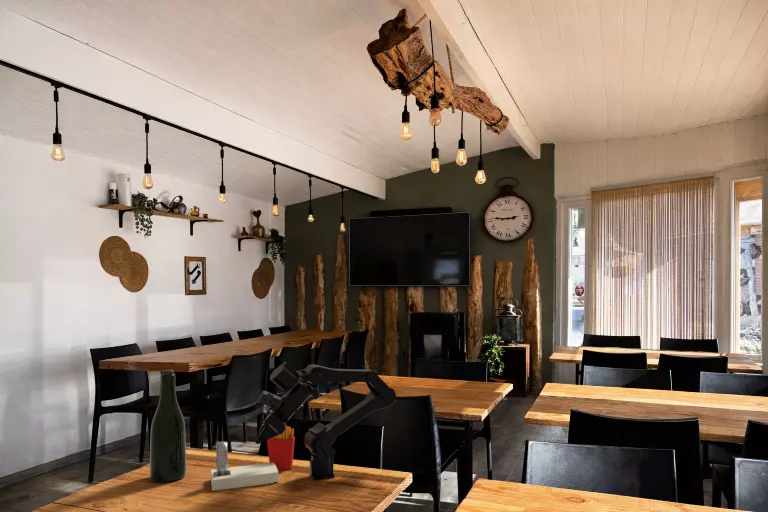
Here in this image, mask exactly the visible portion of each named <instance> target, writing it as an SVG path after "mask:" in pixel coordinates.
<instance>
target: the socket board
mask: <svg viewBox="0 0 768 512" xmlns="http://www.w3.org/2000/svg"><path fill="white" fill-rule="evenodd" d="M279 476H280V475H279V469H277V468H276V465H275V463H274V462H273V463H269V462H267V463H266V462H265V463H258V464H250V465H240V466H233V467H232V466H231V467H228V475H227V476H219V477H217V468H216V469H215V468H214V469H211V470H210V482H211V491H221V490H222V491H223V490H228V489H238V488H244V487H246V488H247V487H253V486H260V485H270V484H275V483H274V482H278V483H280V480H279V478H280V477H279ZM269 483H270V484H269Z"/></svg>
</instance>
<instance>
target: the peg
mask: <svg viewBox="0 0 768 512" xmlns="http://www.w3.org/2000/svg"><path fill="white" fill-rule="evenodd" d="M228 445H229V442H228V441H226V440H225V441H222V440H221V441H218V442H216V445H215V446H216V447H215V451H216V457H215V458H216V461H215V462H216V469H217V477H219V476H227V475H228V468H229V467H228V466H229V465H228V464H229V463H228V459H229V458H228V454H229V453H228V452H229V451H228V449H229V448H228V447H229V446H228Z"/></svg>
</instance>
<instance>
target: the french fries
mask: <svg viewBox="0 0 768 512" xmlns="http://www.w3.org/2000/svg"><path fill="white" fill-rule="evenodd" d="M294 431H295V429H294V427H293V428H291V426H288V425H286V430H285V431H284V432H283V433H282V434H280V435H278V436H275V437H273V438H270V439H268V440H266V442H267V454H268V463H273V462H274V463H275V465H276V468H277V470H289V468H291V469H292V467H293V463H294V462H293V461H294V450H295V439H296V437H295V436H294V434H295V432H294Z"/></svg>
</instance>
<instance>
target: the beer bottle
mask: <svg viewBox="0 0 768 512" xmlns="http://www.w3.org/2000/svg"><path fill="white" fill-rule="evenodd" d="M174 371H175V370H174V369H164V370H162V372H161V373H162V374H160V393H159V394H160V395H159V401H158V404H157V408H156V410H155V413H154V416H153V418H152V420H151V421H152V422H151V427H150V439H149V441H150V442H149V443H150V444H149V447H150V448H149V449H150V450H149V478H150V480H151V481H152V482H153V483H170V482H174V481H179V480H182V478H183V477H185V476H186V473H187V448H186V447H187V446H186V445H187V444H186V426H185V425H186V424H185V419H184V415H183V413H182V411H181V408H180V406H179V403H178V400H177V393H176V392H177V389H176V373H175V372H174ZM178 479H179V480H178Z"/></svg>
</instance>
